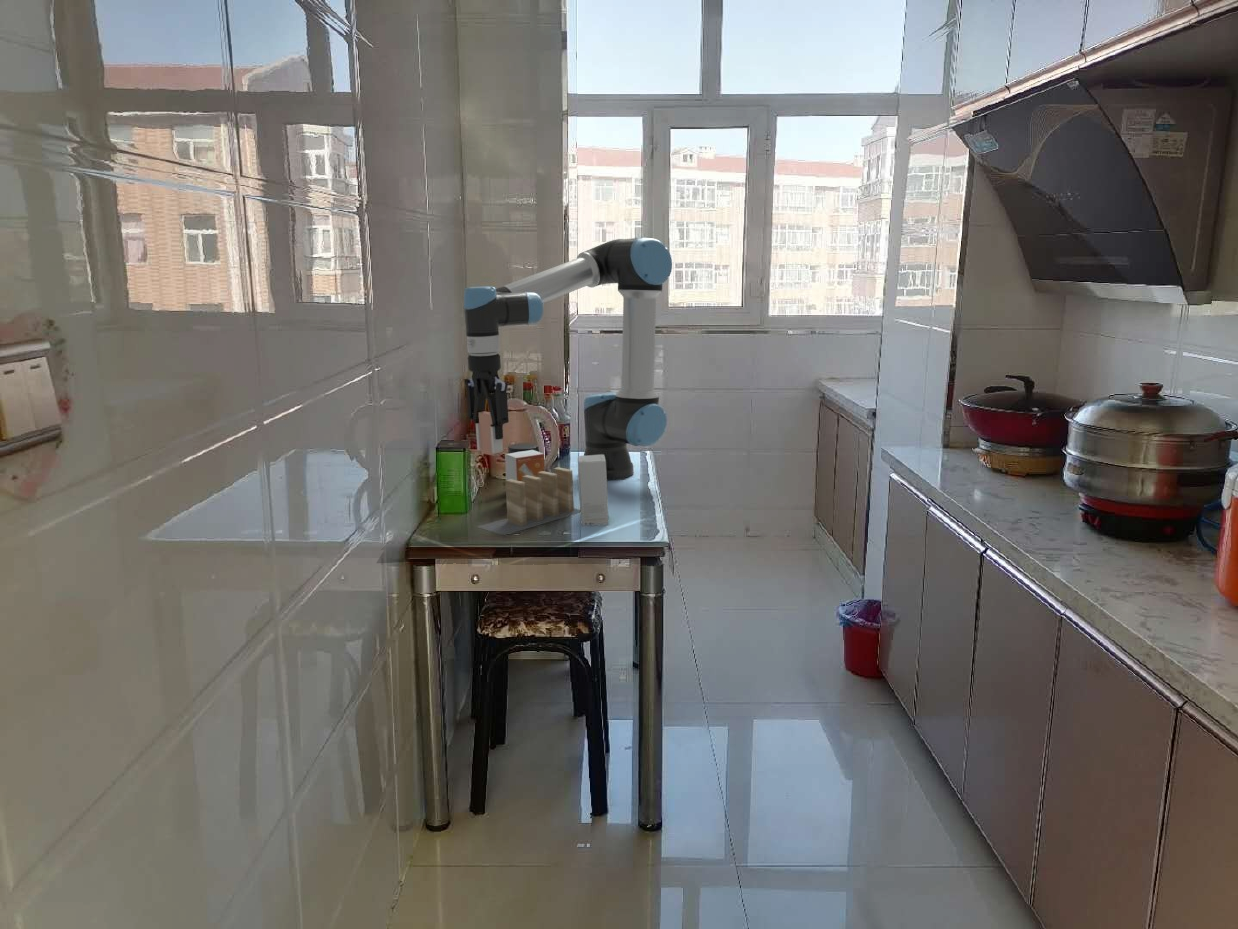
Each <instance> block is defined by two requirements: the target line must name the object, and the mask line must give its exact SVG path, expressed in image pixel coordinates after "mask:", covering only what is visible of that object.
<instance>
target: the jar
mask: <svg viewBox="0 0 1238 929" xmlns="http://www.w3.org/2000/svg"><path fill="white" fill-rule="evenodd" d="M539 446H540V445H539V444H538V443H534V442H521V443H520V442H519V443H514V444H510V445H509V446H507V454H509V453H515V452H521V451H529V450H535V451H538V452H540V447H539Z"/></svg>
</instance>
